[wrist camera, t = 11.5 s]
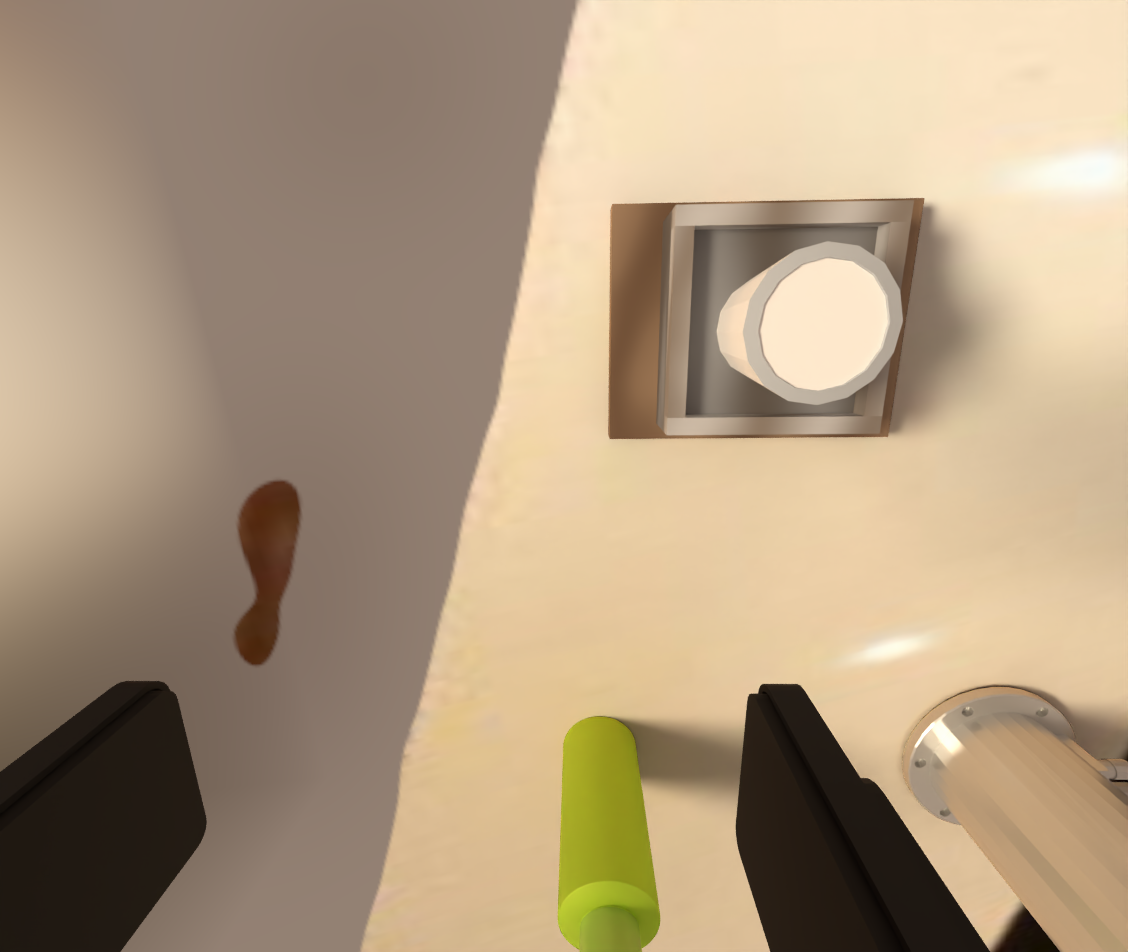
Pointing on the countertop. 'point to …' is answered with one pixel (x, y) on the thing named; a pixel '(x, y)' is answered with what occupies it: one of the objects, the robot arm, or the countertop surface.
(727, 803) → the countertop surface
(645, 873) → the soap dispenser
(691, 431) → the stand
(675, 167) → the countertop surface
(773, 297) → the white cup
